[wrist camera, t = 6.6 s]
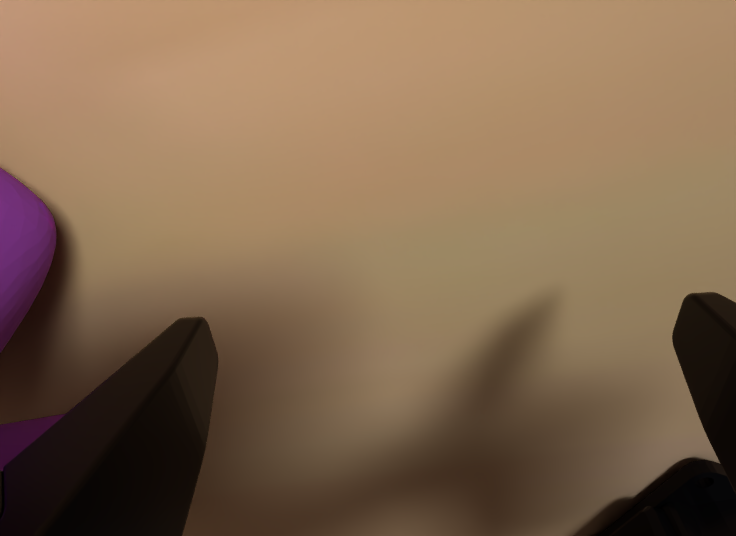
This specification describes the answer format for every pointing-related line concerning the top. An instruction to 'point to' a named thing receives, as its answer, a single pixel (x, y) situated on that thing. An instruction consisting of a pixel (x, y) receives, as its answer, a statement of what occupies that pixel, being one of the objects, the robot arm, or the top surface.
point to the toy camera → (21, 285)
